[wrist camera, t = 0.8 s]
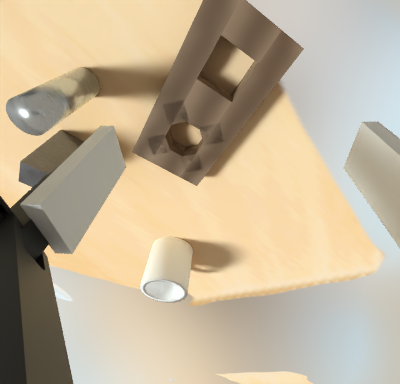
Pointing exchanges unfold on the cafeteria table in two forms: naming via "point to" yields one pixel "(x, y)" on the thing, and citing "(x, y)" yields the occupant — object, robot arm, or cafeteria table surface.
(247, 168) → the cafeteria table surface
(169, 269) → the mug
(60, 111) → the grey cylinder
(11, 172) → the cafeteria table surface
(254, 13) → the socket block
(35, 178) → the square bit
